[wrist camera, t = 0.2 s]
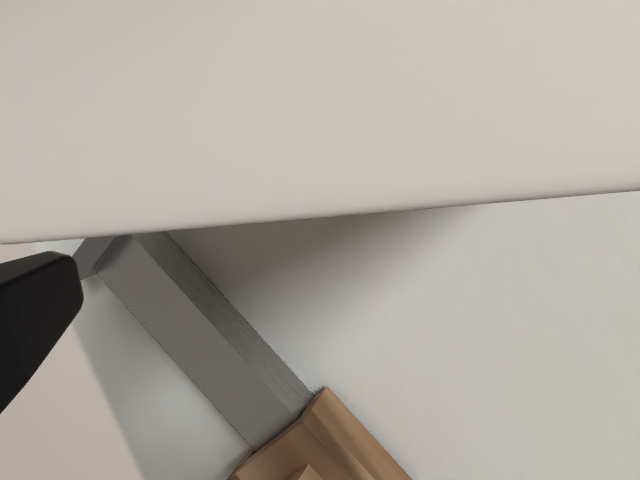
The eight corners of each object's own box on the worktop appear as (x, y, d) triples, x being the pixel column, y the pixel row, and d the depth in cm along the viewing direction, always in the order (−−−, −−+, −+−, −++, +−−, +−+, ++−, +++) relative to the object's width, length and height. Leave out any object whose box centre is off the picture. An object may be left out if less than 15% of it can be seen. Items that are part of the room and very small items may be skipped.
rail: (414, 583, 28) (400, 638, 25) (111, 246, 29) (66, 263, 26) (461, 558, 27) (452, 613, 24) (142, 206, 28) (98, 221, 25)
